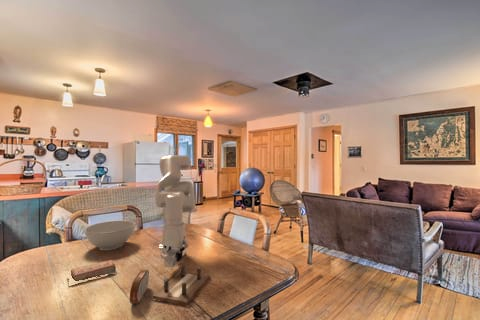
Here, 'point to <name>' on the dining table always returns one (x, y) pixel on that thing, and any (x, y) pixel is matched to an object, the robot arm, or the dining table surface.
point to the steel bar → (171, 257)
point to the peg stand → (182, 287)
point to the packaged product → (93, 270)
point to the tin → (139, 286)
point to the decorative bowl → (110, 233)
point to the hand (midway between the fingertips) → (174, 259)
